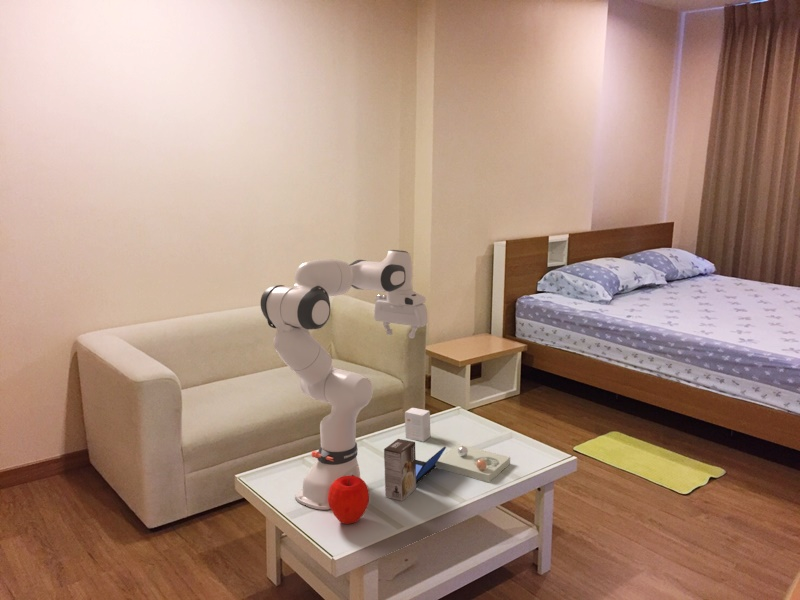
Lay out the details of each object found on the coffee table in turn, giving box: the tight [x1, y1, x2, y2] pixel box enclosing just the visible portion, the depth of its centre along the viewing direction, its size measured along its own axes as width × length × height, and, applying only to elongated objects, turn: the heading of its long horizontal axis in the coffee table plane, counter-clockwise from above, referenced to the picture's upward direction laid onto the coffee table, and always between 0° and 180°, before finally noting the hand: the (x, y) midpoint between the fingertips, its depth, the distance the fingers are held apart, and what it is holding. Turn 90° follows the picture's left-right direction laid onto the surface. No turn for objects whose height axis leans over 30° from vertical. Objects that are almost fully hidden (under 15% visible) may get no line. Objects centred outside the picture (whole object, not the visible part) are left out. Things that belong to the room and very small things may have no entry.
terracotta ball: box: [476, 459, 487, 470], centre depth 210 cm, size 4×4×4 cm
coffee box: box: [383, 438, 417, 502], centre depth 199 cm, size 9×6×16 cm
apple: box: [328, 476, 370, 525], centre depth 183 cm, size 12×12×13 cm
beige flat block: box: [435, 443, 511, 483], centre depth 218 cm, size 16×20×2 cm
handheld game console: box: [416, 446, 447, 486], centre depth 211 cm, size 16×13×9 cm
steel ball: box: [458, 445, 468, 457], centre depth 220 cm, size 4×4×4 cm
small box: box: [404, 407, 431, 443], centre depth 242 cm, size 8×6×10 cm
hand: (400, 336), depth 221 cm, fingers open, 8 cm apart
